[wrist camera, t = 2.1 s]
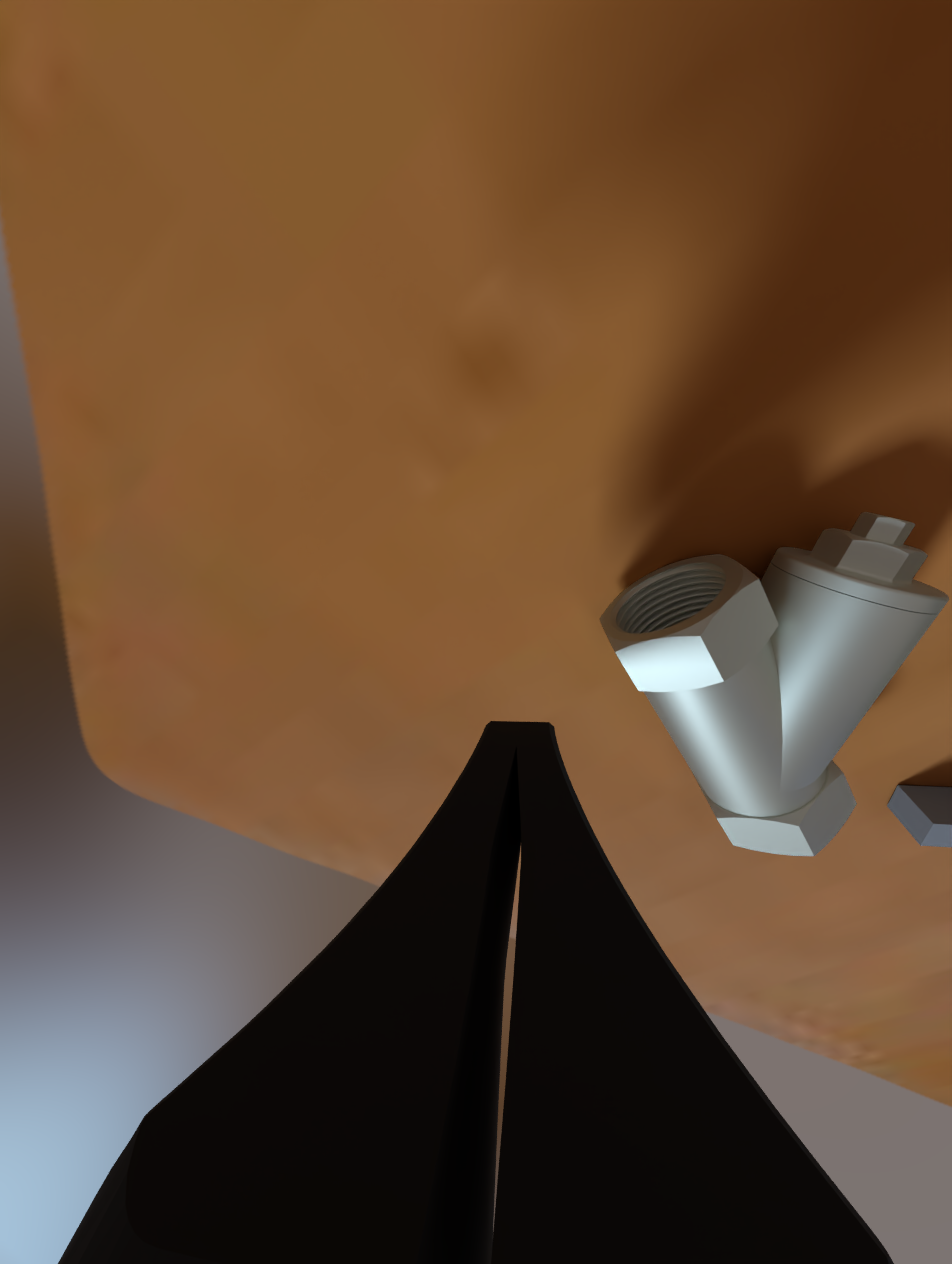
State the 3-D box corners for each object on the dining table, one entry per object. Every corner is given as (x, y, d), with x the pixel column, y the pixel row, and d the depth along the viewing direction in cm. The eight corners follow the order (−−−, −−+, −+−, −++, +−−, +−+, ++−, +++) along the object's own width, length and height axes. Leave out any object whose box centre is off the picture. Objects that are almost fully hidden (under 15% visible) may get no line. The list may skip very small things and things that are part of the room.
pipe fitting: (832, 467, 11) (591, 601, 13) (986, 487, 7) (621, 667, 9) (907, 693, 13) (696, 776, 15) (1047, 788, 10) (751, 879, 12)
